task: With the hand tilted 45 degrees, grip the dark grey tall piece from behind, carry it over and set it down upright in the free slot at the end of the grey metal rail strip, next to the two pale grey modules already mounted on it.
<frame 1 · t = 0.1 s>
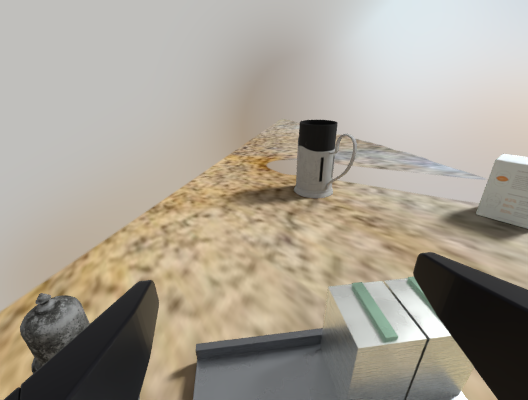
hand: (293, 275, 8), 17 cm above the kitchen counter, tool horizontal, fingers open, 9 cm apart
rail: (323, 393, 20), on the kitchen counter
small box: (505, 218, 46), on the kitchen counter
glass holder: (321, 195, 56), on the kitchen counter
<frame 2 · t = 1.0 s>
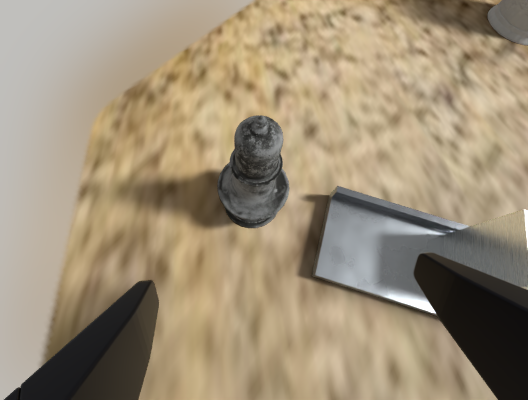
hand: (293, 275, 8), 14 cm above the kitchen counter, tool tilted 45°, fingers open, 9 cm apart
dark grey tall piece: (251, 201, 24), on the kitchen counter
rail: (426, 266, 23), on the kitchen counter
glass holder: (524, 38, 37), on the kitchen counter
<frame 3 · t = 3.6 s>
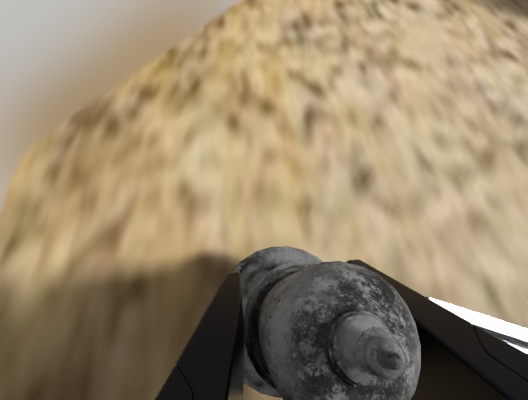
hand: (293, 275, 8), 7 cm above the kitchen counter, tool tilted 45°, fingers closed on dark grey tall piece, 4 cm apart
dark grey tall piece: (274, 310, 14), on the kitchen counter, touching gripper
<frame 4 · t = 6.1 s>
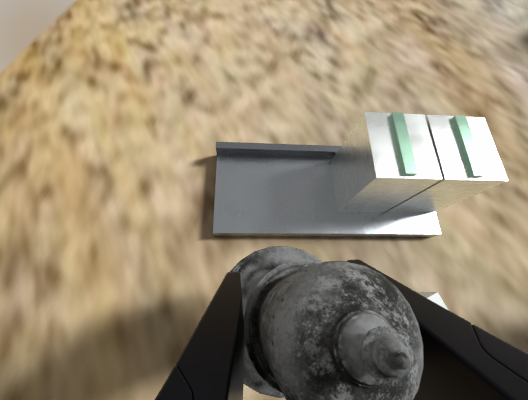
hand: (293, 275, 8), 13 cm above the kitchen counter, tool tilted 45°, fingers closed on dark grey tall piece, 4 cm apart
dark grey tall piece: (272, 310, 14), point 6 cm above the kitchen counter, touching gripper
rail: (322, 194, 24), on the kitchen counter
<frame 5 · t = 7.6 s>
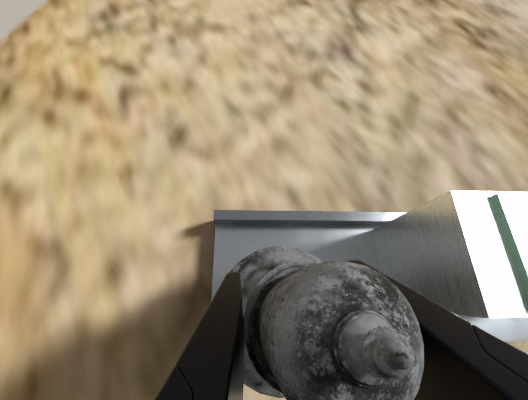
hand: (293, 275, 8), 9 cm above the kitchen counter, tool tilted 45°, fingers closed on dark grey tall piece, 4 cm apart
dark grey tall piece: (272, 310, 14), point 2 cm above the kitchen counter, touching gripper
rail: (361, 276, 17), on the kitchen counter
when the fingers open (8 cm above the kitchen counter, at t = 8.2 s): dark grey tall piece stays where it is, resting on rail.
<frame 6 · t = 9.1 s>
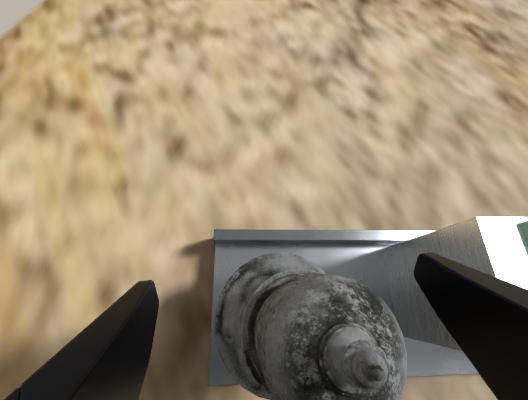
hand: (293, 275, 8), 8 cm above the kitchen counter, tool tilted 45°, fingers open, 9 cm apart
dark grey tall piece: (272, 314, 15), point 1 cm above the kitchen counter, touching rail
rail: (371, 298, 16), on the kitchen counter
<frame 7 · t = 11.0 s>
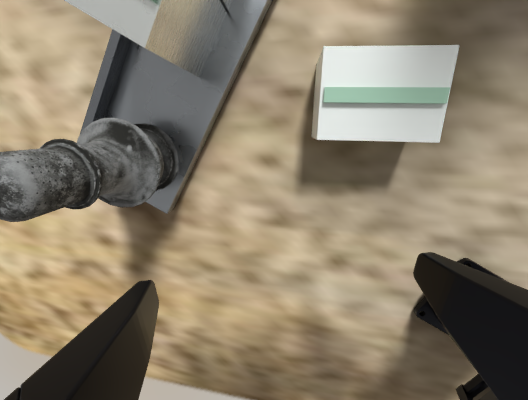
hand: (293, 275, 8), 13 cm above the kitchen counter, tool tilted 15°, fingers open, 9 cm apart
dark grey tall piece: (148, 158, 20), point 1 cm above the kitchen counter, touching rail
rail: (177, 75, 19), on the kitchen counter
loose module: (361, 102, 19), on the kitchen counter
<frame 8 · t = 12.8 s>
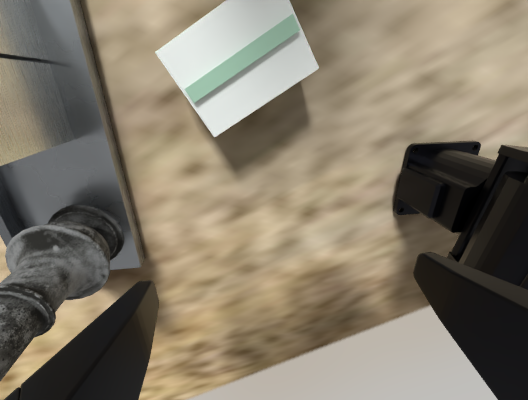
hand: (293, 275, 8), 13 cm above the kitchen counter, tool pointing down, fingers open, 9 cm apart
dark grey tall piece: (88, 234, 20), point 1 cm above the kitchen counter, touching rail
rail: (56, 147, 18), on the kitchen counter
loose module: (237, 66, 17), on the kitchen counter
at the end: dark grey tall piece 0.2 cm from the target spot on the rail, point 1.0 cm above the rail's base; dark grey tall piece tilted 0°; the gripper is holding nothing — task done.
